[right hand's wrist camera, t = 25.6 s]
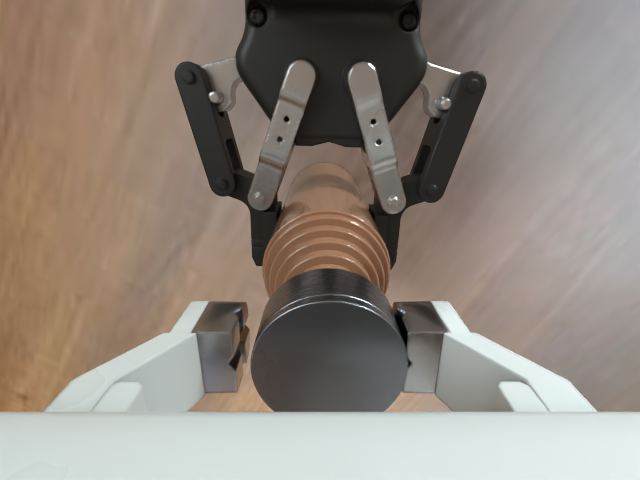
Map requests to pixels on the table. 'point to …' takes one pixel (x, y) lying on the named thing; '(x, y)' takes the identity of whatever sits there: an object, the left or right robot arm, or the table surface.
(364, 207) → the bottle
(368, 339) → the cap
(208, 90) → the left robot arm
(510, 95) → the table surface
